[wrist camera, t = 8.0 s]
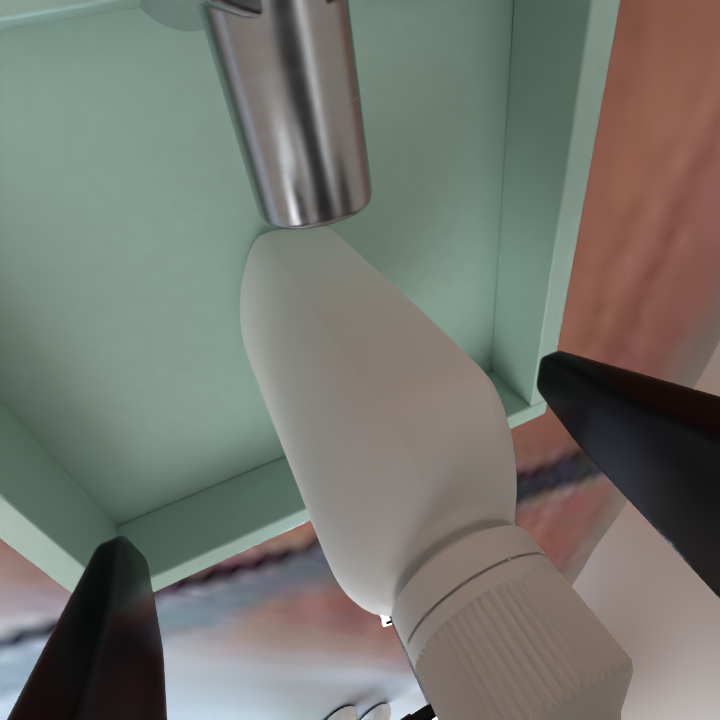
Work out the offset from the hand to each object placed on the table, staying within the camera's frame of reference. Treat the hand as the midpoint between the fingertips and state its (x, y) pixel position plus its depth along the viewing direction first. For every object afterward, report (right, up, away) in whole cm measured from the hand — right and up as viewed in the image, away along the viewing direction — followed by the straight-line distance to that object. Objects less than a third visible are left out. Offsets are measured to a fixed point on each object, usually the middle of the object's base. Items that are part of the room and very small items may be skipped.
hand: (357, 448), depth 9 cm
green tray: (-3, +4, +4) cm, 6 cm away
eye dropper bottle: (-2, +3, +4) cm, 6 cm away
